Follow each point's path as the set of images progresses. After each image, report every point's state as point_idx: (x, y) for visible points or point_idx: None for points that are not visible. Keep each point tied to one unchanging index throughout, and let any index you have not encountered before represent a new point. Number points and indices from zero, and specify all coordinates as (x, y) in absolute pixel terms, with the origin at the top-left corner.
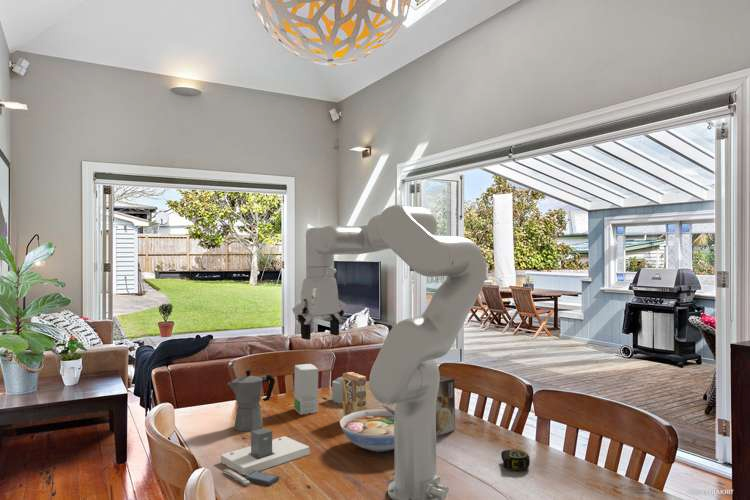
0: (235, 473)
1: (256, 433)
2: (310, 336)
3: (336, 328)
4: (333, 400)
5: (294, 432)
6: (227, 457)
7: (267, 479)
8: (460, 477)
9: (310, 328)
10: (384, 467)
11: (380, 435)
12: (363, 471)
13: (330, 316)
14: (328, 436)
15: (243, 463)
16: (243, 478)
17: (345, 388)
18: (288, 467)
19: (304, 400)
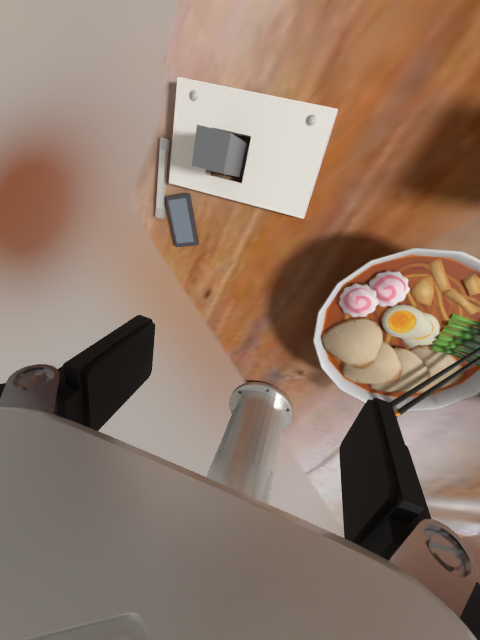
0: (162, 173)
1: (194, 152)
2: (142, 383)
3: (344, 485)
4: None
5: (425, 63)
6: (177, 106)
7: (179, 237)
8: (326, 439)
9: (110, 417)
10: (312, 354)
11: (323, 369)
12: (285, 334)
13: (396, 552)
14: (424, 180)
15: (179, 164)
16: (159, 201)
17: None
18: (238, 224)
19: None
